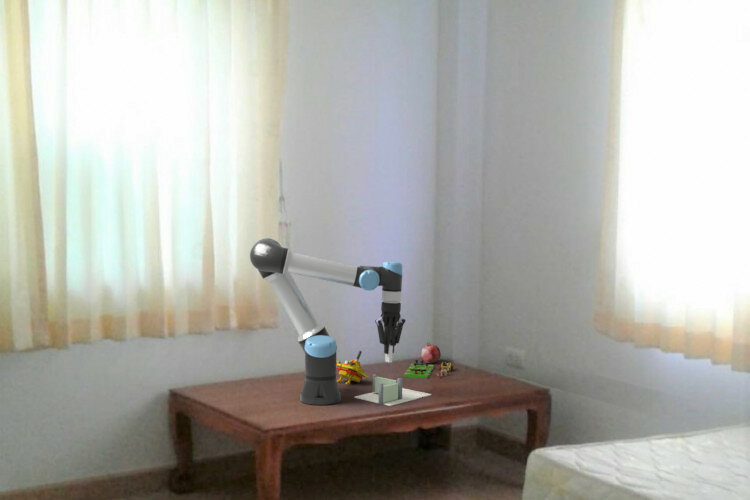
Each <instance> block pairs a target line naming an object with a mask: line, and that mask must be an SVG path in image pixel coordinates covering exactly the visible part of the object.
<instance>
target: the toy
mask: <svg viewBox="0 0 750 500" xmlns="http://www.w3.org/2000/svg"><path fill="white" fill-rule="evenodd" d="M362 352H363V351H362V350H359V351H358V354H357V356H356V358H354V359H351V360H345V361H344V363H343V362H342V361H340V360H336V371H338V375H339V376H340V377H339V379H336V381H337V383H340V384H341V383H342V380H343V378H344V379H347V381H346V382H345V385H347V386H350V383H351V382H354V383H360V381H362V380H363V378H367V379H369V377H370V376H369V375H367V374H366V373H365V370H363V367H362V365H361V362H360V361H359V359H360V357H361V354H362Z"/></svg>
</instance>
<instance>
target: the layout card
mask: <svg viewBox="0 0 750 500" xmlns="http://www.w3.org/2000/svg"><path fill="white" fill-rule="evenodd" d="M429 396H432V393H427V392H423V391H418V390H413V389H408V388H404V387H402V399H397V400H393V401H389V402H385V403H383V406H388V407H391V406H396V405H400V404H404V403H407V402H411V401H415V400H417V399H421V398H422V397H423V398H427V397H429ZM354 399H358V400H363V401H367V402H371V403H375V404H379V393H375V392H373V391H372V392H368V393H364V394H359V395H356V396H354Z"/></svg>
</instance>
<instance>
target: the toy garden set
mask: <svg viewBox="0 0 750 500" xmlns="http://www.w3.org/2000/svg"><path fill="white" fill-rule="evenodd" d="M423 361H424V360H422V359H421V360H420V363H418V362H419V361H418V360H417V359H415V362H414V363H410V366H409V367H408V368H407V369H406V371H405V372H404V373H403V378H404V377H408V378H409V379H425V378H428V379H429V377H430V375H431V373H432V372H433V370H434V368H435V366H434V365H435V364H429V363H424V362H423ZM432 369H433V370H432ZM438 370H439V371H440V375H439V373H436V376H437V377H438V379H441V378H442V377H446V376H448V372H452V371H453V372H454V370H455V369H454V365H452V362H449V361H448V360H446V361H443V362H441V364H438ZM431 371H432V372H431Z"/></svg>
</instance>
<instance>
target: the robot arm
mask: <svg viewBox="0 0 750 500" xmlns="http://www.w3.org/2000/svg"><path fill="white" fill-rule="evenodd" d="M249 259H250V262H251V265H252V266H253V267H254V268H255V269H257V271H258V272H259V274H260V276H261V278H262V279H263V280H265V281H268V282H269V284H270V285H271V288H272V289H273V291H274V293H275V294H276V297H277V298H278V300H279V302H280V303H281V305H282V307H283V309H284V311H285V312H286V314H287V316H288V317H289V320H290V322H291V323H292V325H293V326H294V327H293V328H295V330H296V332H297V334H298V337H297V342H298V343H299V346H300V347H301V349H302V351H303V353H304V359H305V360H304V383H303V385H302V389H301V392H300V395H299V396H300V397H299V400H300V402H301V403H304V404H307V405H313V406H316V405H317V406H326V405H334V404H338V403H340V402H341V400H342V398H341V397H342V394H341V392H340V388H339V385H338V382H337V366H336V363H337V351H338V345H337V340H336V339H335V338H334V337H333V336H332V337H331V336H330V334H329V332H328V331H327V328H326V327H325V326H324V324H320V323H319V322H318V321H317V319H316V317H315V314H314V313H313V312H312V310H311V308H310V307H309V305H308V303H307V301H306V298H305V297H304V295H303V294H302V292H301V290H300V289H299V286H298V285H297V283H296V281H295V279H294V277H293V276H292V274H295V275H298V276H304V277H308V278H313V279H318V280H322V281H326V282H332V283H336V284H341V285H346V286H351V287H355V288H358V289H359V288H360V289H362V290H364V291H369V292H370V291H374V290H375V289H377V288H378V287H381V288H382V289H381V300H382V301H381V305H380V306H381V307H380V310H381V315H380V317H379V318H378V319H375V320H374V322H375V324H376V326H377V332H378V340H379V344H381V345H383V353H384V357H385V358H384V362H386V363H388V364H391V363H393V354H395V346H396V345H397V344H399V343H400V340H401V335H402V333H403V332H402V330H403V327H404V324H405V323H406V318H402V316H401V311H402V309H401V308H402V303H401V301H402V290H403V289H402V288H403V285H402V284H403V264H402V262H399V261H383V264H382V266H370V265H366V266H365V265H351V264H346V263H342V262H337V261H333V260H329V259H324V258H320V257H315V256H311V255H306V254H301V253H296V252H292V251H291V250H290V248H287V247H282V246H281V244H280V243H279V242H278V241H277V240H275V239H273V238H268V237H267V238H261V239H259V240H258V241H256V242H255V244H253V246H252V247H251V249H250V252H249Z"/></svg>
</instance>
